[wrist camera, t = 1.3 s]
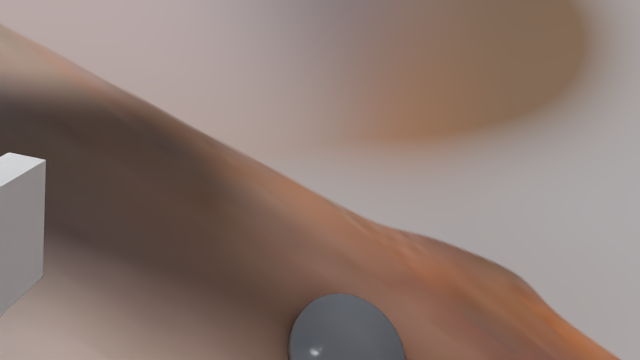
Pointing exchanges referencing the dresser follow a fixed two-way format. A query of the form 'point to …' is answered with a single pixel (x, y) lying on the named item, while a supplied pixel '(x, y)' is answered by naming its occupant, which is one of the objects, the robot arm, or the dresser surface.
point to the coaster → (343, 331)
